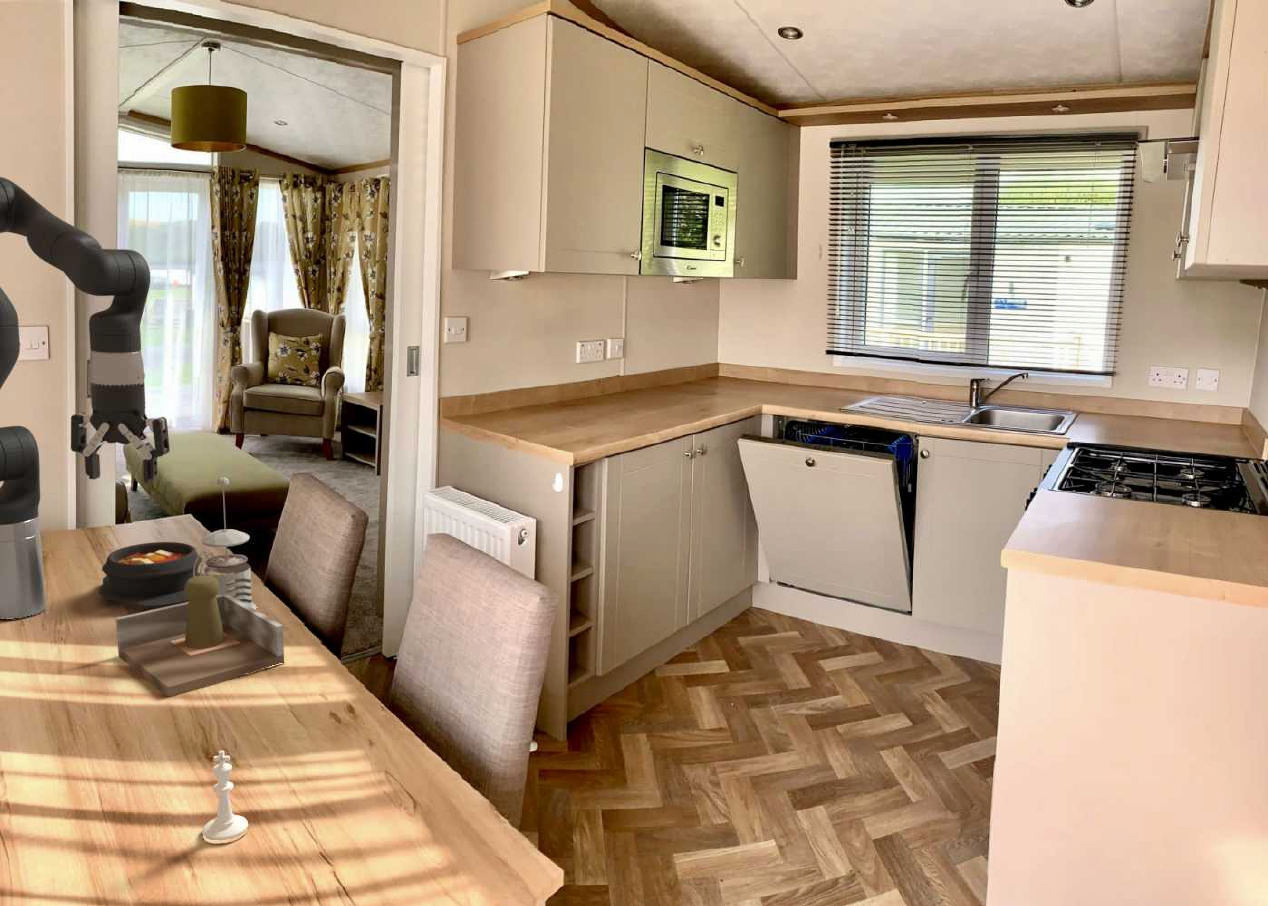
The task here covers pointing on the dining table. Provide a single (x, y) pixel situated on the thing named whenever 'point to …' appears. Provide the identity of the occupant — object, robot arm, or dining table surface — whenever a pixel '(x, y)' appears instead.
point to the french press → (228, 561)
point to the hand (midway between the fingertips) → (122, 479)
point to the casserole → (149, 574)
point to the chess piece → (224, 805)
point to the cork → (203, 613)
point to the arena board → (177, 669)
